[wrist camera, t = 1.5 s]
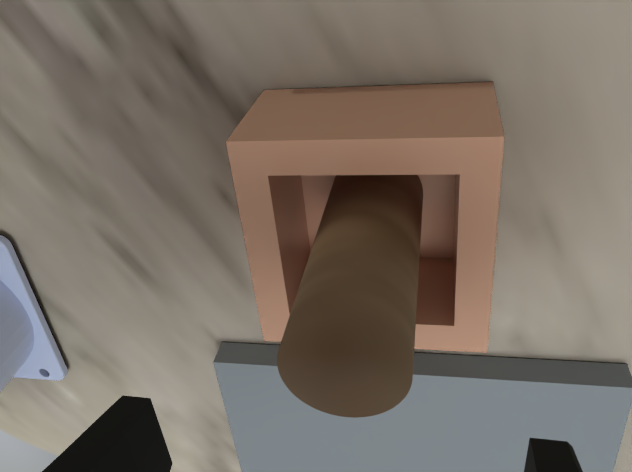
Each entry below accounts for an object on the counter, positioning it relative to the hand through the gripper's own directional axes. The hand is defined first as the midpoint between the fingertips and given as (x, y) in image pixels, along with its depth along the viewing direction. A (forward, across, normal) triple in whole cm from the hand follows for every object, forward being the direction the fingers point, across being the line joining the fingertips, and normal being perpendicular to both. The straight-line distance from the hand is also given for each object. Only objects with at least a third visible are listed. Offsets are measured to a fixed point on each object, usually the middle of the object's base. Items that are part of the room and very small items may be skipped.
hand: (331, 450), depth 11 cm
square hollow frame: (+10, 0, 0) cm, 11 cm away
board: (+10, -1, +12) cm, 16 cm away
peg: (+10, 0, 0) cm, 10 cm away
